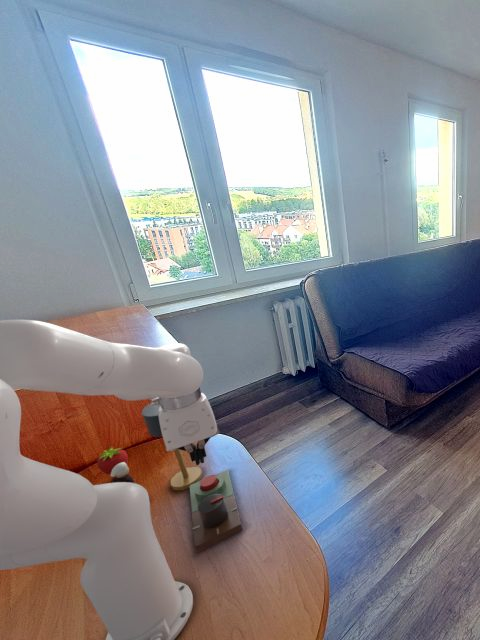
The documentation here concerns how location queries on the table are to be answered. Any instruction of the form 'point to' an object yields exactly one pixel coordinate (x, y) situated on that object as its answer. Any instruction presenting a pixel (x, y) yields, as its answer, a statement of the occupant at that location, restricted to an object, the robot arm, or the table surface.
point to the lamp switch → (209, 483)
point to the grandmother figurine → (121, 473)
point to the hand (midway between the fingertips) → (200, 460)
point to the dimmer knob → (213, 511)
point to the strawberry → (111, 459)
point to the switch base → (222, 488)
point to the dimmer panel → (219, 533)
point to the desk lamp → (186, 474)
